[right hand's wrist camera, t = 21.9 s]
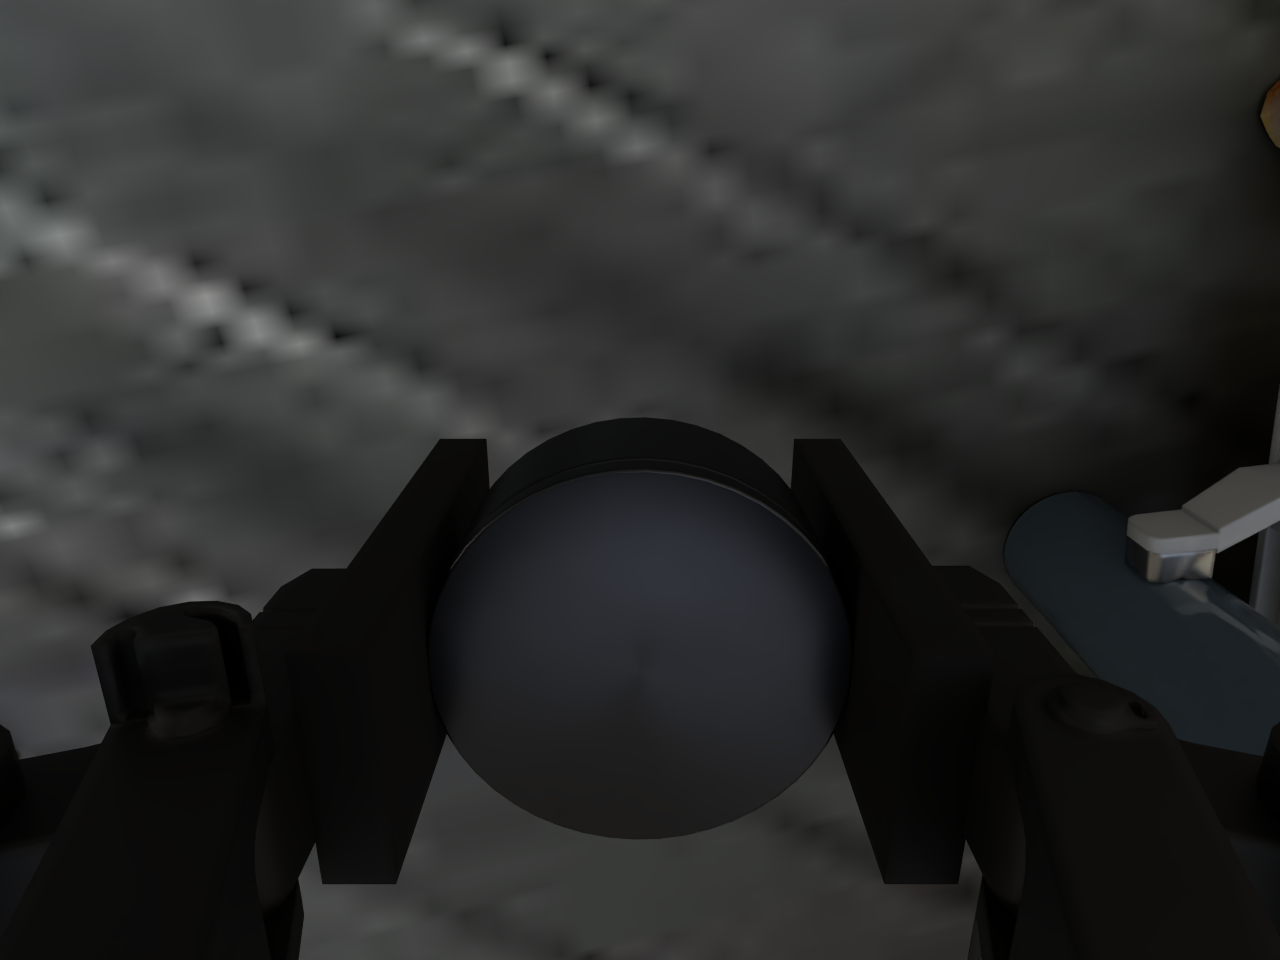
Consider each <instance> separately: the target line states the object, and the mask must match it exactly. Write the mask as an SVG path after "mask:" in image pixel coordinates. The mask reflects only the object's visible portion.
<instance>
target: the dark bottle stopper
mask: <svg viewBox="0 0 1280 960" xmlns="http://www.w3.org/2000/svg"><path fill="white" fill-rule="evenodd" d="M426 645H427V659H428V670H429V679H430V689H431V694H432V698H433V701H434V705H435V708H436V711H437V714H438V716H439V718H440V720H441V722H442V724H443V727H444V729H445V731H446V733H447V735H448V736H449V738H450V740H451V741H452V743H453V744H454V746H455V747H456V749H457V750H458V752H459V754H460V755H461V756H462V757H463V758H464V760H465V761H466V762H467V763H468V764H469V766H470V767H471V768H472V769H473V770H474V771H475V773H476V774H478V775H479V776H480V777H481V778H482V779H483V780H484V781H485V782H486V783H487V784H488V785H490V786H491V787H492V788H493V789H494V790H495V791H497V792H498V793H500V794H501V795H502V796H504V797H505V798H507V799H508V800H509V801H511V802H512V803H513V804H515V805H517V806H519V807H521V808H522V809H524V810H526V811H528V812H530V813H531V814H533V815H535V816H537V817H540V818H542V819H544V820H547V821H549V822H552V823H554V824H556V825H559V826H562V827H565V828H569V829H572V830H576V831H579V832H582V833H587V834H593V835H598V836H604V837H610V838H623V839H661V838H668V837H676V836H684V835H688V834H693V833H697V832H701V831H705V830H709V829H712V828H715V827H718V826H721V825H723V824H726V823H729V822H732V821H734V820H736V819H739V818H741V817H743V816H745V815H747V814H749V813H751V812H753V811H755V810H757V809H758V808H760V807H762V806H763V805H765V804H766V803H768V802H769V801H771V800H773V799H774V798H776V797H777V796H779V795H780V794H781V793H782V792H783V791H785V790H786V789H787V788H788V787H790V786H791V785H792V784H793V783H794V782H796V781H797V780H798V779H799V778H800V777H801V776H802V775H803V773H804V772H805V771H806V770H807V769H808V768H809V767H810V766H811V765H812V764H813V763H814V762H815V760H816V759H817V757H818V756H819V755H820V753H821V752H822V751H823V749H824V748H825V747H826V745H827V744H828V742H829V740H830V738H831V737H832V735H833V733H834V731H835V729H836V727H837V725H838V724H839V722H840V719H841V716H842V714H843V711H844V708H845V705H846V703H847V700H848V696H849V691H850V685H851V676H852V665H853V655H854V639H853V628H852V623H851V619H850V615H849V611H848V607H847V603H846V600H845V598H844V595H843V593H842V591H841V588H840V586H839V583H838V581H837V579H836V577H835V574H834V572H833V570H832V568H831V566H830V564H829V562H828V560H827V557H826V555H825V553H824V551H823V549H822V547H821V545H820V542H819V540H818V538H817V536H816V534H815V532H814V530H813V528H812V525H811V523H810V521H809V519H808V517H807V515H806V513H805V511H804V509H803V508H802V506H801V504H800V503H799V501H798V499H797V498H796V496H795V494H794V493H793V492H792V490H791V489H790V488H789V487H788V486H787V484H786V483H785V482H784V481H783V479H782V478H781V477H780V476H779V475H778V474H777V473H776V472H775V471H774V470H773V469H772V468H771V467H770V466H769V465H767V464H766V463H765V462H764V461H763V460H762V459H761V458H759V457H758V456H757V455H755V454H754V453H752V452H751V451H749V450H748V449H746V448H745V447H744V446H742V445H740V444H739V443H737V442H735V441H733V440H731V439H729V438H727V437H725V436H723V435H721V434H719V433H716V432H713V431H711V430H708V429H705V428H702V427H700V426H697V425H693V424H688V423H684V422H679V421H675V420H668V419H658V418H647V417H644V418H619V419H613V420H607V421H601V422H595V423H592V424H588V425H585V426H581V427H578V428H575V429H571V430H569V431H567V432H564V433H562V434H560V435H558V436H555V437H553V438H551V439H549V440H547V441H545V442H544V443H542V444H540V445H539V446H537V447H536V448H534V449H532V450H531V451H529V452H527V453H526V454H525V455H524V456H522V457H521V458H520V459H519V460H518V461H516V462H515V463H514V464H513V465H511V466H510V467H509V468H508V469H507V470H506V471H505V472H504V473H503V474H502V476H501V477H500V478H499V479H498V480H497V481H496V482H495V483H494V484H493V485H492V487H491V488H490V490H489V491H488V493H487V494H486V495H485V497H484V498H483V500H482V501H481V503H480V504H479V506H478V508H477V510H476V512H475V514H474V516H473V518H472V520H471V522H470V524H469V526H468V529H467V531H466V533H465V535H464V537H463V539H462V541H461V543H460V545H459V548H458V550H457V552H456V554H455V556H454V558H453V560H452V562H451V564H450V567H449V569H448V571H447V573H446V575H445V577H444V579H443V581H442V584H441V586H440V588H439V590H438V593H437V596H436V599H435V602H434V605H433V608H432V611H431V614H430V619H429V625H428V632H427V638H426Z"/></svg>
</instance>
